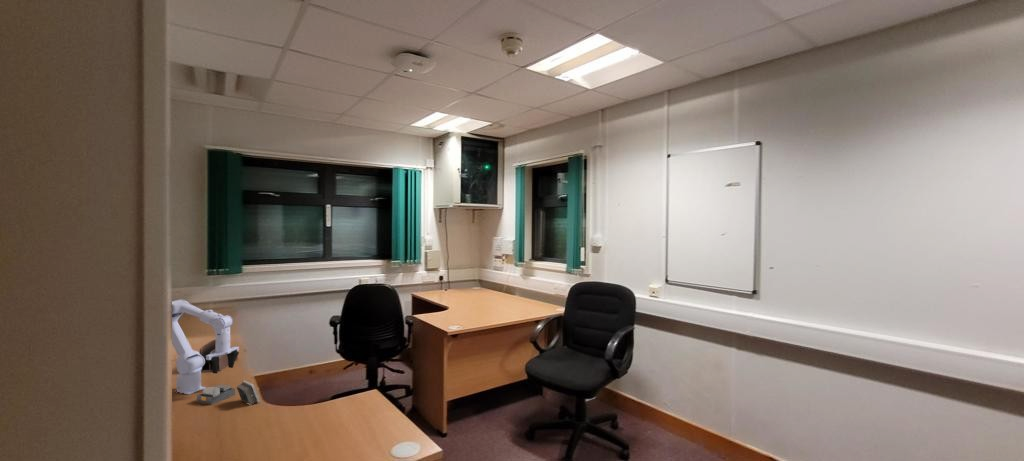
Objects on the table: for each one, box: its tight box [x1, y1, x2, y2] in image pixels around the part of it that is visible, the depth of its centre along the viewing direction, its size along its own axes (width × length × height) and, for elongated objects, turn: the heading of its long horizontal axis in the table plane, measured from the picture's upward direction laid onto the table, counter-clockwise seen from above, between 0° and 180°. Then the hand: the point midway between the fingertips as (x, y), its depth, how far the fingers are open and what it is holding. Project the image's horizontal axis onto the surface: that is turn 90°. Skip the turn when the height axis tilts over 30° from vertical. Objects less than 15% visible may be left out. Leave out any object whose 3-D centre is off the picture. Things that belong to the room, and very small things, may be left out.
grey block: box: [202, 386, 220, 397], centre depth 177 cm, size 6×3×5 cm, turn 73°
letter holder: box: [199, 339, 239, 373], centre depth 222 cm, size 10×20×14 cm, turn 10°
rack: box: [196, 383, 236, 406], centre depth 180 cm, size 9×11×4 cm
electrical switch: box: [236, 380, 260, 406], centre depth 176 cm, size 9×5×9 cm, turn 57°
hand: (223, 370), depth 188 cm, fingers open, 7 cm apart
